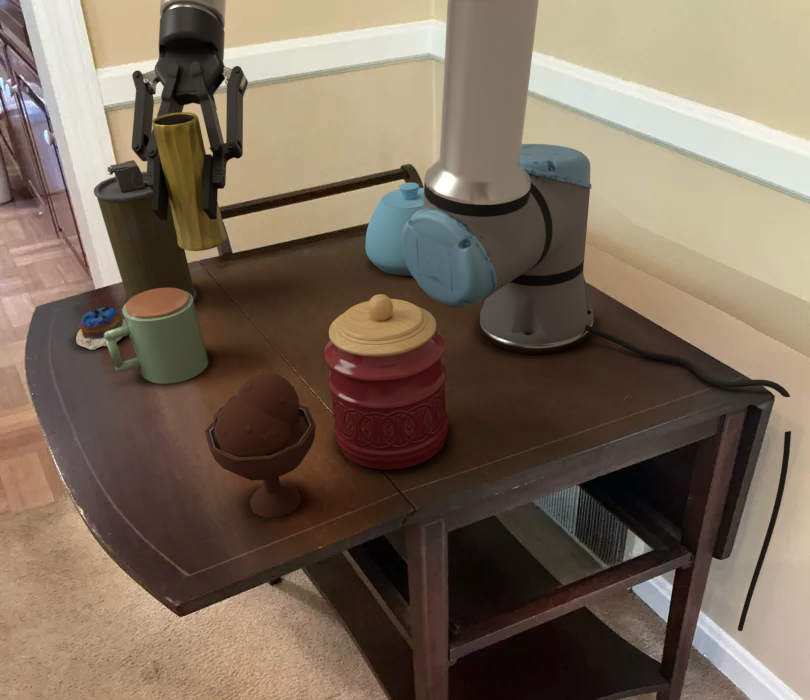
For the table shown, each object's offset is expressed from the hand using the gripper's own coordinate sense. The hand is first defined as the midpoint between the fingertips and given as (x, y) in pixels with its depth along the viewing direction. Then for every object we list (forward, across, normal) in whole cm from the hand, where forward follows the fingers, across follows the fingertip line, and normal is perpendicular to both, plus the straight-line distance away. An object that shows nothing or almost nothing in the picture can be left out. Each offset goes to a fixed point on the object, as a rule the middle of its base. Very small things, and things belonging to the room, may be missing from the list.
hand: (184, 214), depth 99 cm
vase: (+1, 0, -6) cm, 6 cm away
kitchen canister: (+26, -25, -3) cm, 36 cm away
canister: (0, +15, -29) cm, 32 cm away
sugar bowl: (-9, -23, -38) cm, 45 cm away
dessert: (+8, +20, -21) cm, 30 cm away
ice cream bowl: (+35, -14, +6) cm, 38 cm away
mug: (+15, +8, -14) cm, 22 cm away
